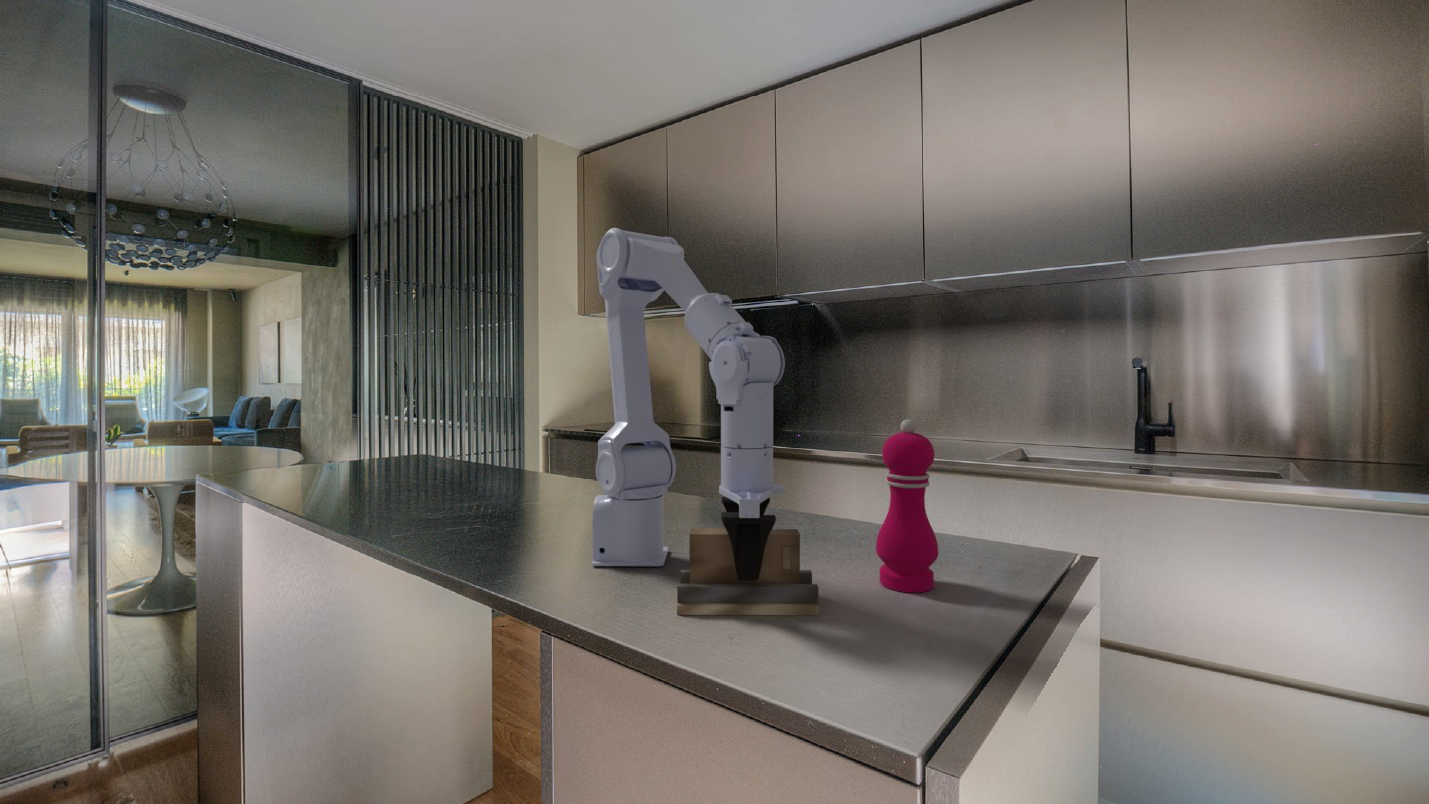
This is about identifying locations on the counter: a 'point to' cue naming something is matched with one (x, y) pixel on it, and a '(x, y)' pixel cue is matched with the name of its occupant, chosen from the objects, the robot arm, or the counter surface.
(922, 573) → the pepper mill
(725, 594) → the track board
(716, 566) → the door panel
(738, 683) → the counter surface
